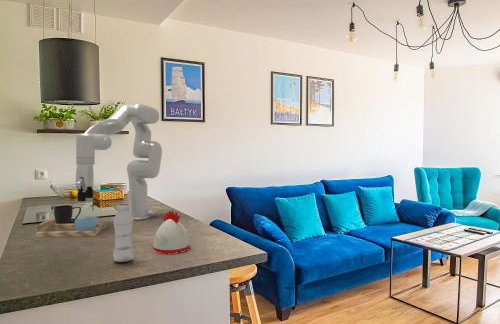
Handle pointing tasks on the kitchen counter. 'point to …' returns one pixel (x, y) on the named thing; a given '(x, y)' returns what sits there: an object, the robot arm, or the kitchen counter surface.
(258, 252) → the kitchen counter surface
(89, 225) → the light blue block
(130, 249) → the plastic bottle
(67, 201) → the kitchen counter surface
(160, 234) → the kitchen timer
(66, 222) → the mug
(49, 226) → the tray
